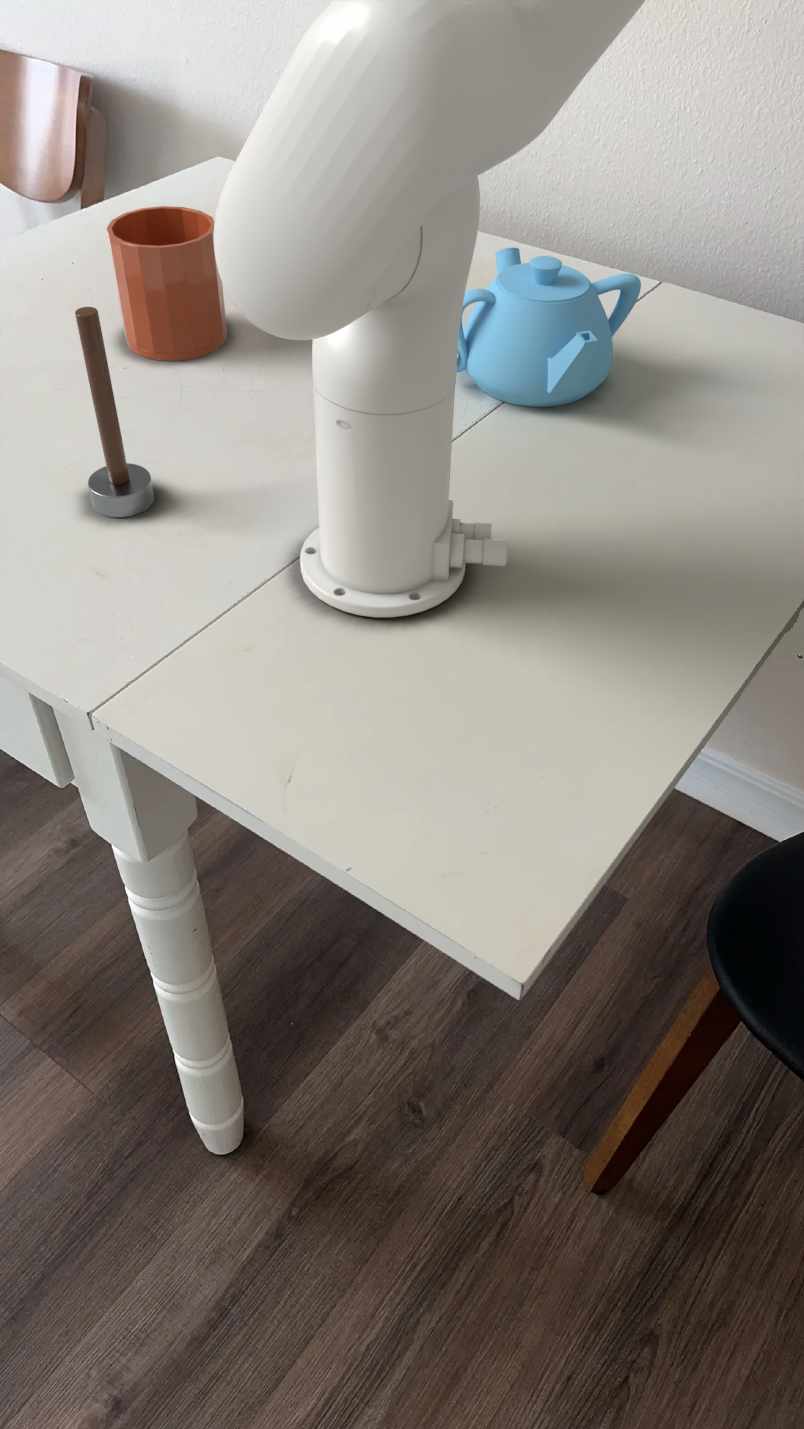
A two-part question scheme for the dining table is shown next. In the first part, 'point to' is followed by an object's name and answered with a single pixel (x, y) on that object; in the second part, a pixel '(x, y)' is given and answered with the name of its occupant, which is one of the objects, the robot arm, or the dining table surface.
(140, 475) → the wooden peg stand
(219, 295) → the holder
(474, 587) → the dining table surface
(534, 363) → the teapot
